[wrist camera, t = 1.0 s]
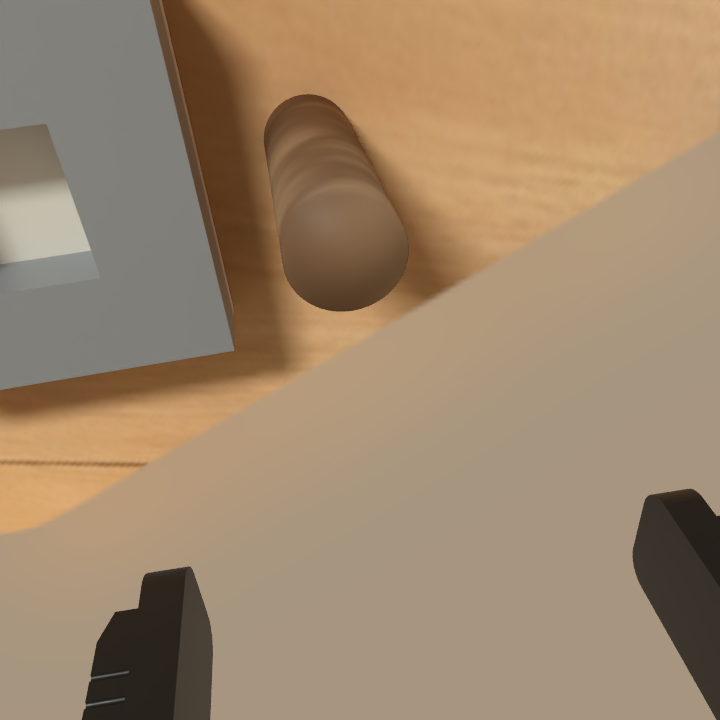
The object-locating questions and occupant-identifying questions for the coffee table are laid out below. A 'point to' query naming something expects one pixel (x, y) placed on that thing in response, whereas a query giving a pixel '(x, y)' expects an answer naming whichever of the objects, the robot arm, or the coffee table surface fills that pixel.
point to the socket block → (100, 197)
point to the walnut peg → (330, 208)
